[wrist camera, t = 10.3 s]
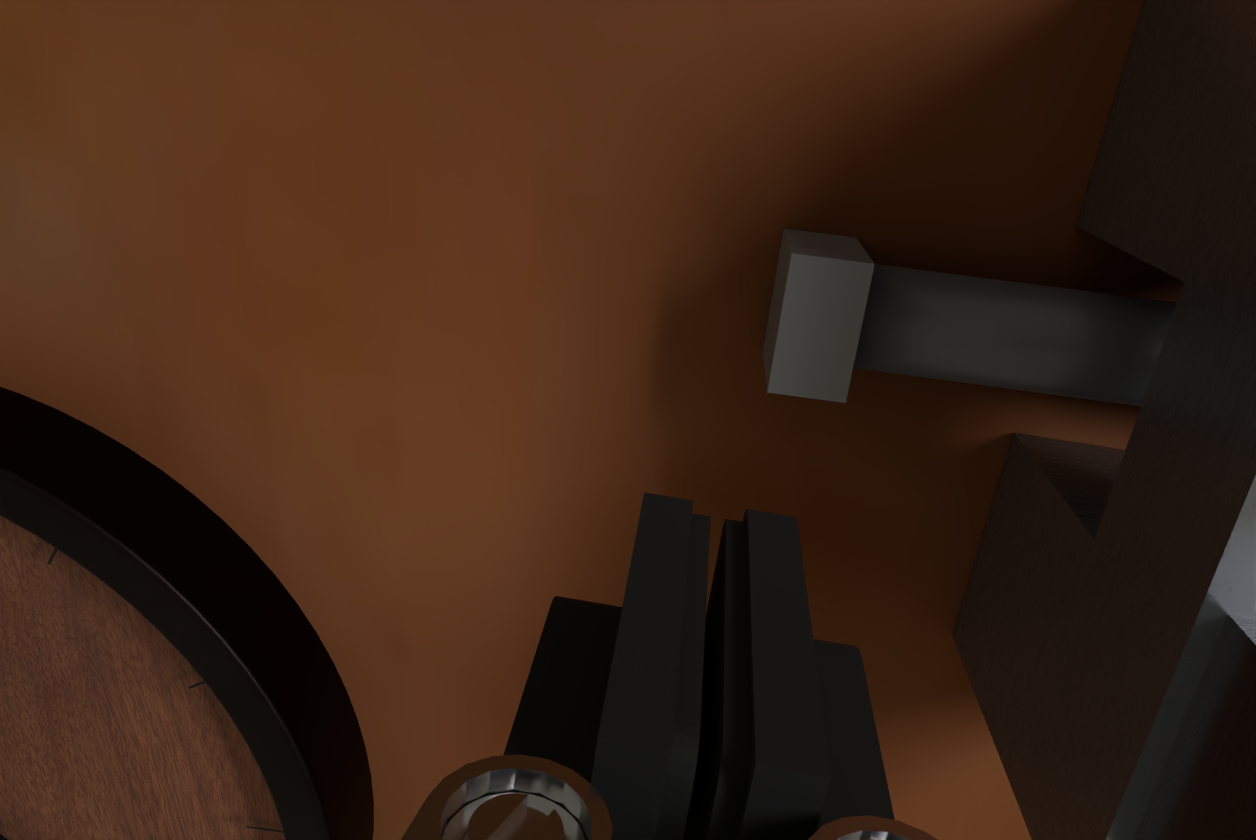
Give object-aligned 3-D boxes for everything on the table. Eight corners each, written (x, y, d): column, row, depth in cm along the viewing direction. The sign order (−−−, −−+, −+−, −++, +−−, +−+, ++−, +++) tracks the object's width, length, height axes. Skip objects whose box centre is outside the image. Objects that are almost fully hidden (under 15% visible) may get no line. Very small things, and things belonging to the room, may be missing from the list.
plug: (785, 213, 26) (796, 241, 23) (1622, 319, 25) (1776, 366, 22) (759, 366, 28) (765, 415, 24) (1544, 471, 27) (1675, 539, 23)
